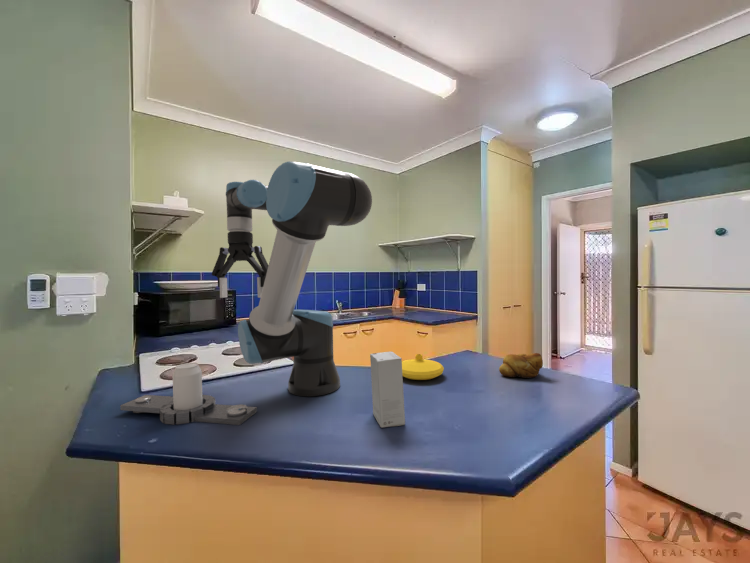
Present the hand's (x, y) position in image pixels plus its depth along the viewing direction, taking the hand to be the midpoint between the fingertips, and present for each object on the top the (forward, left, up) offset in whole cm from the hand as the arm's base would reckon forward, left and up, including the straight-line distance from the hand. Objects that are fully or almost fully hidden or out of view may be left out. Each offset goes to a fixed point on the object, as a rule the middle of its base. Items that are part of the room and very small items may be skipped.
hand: (242, 297), depth 105 cm
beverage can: (-2, +26, -27) cm, 37 cm away
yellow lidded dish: (-56, -11, -27) cm, 63 cm away
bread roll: (-87, -16, -27) cm, 93 cm away
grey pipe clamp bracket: (-2, +26, -27) cm, 37 cm away
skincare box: (-51, +21, -27) cm, 61 cm away
